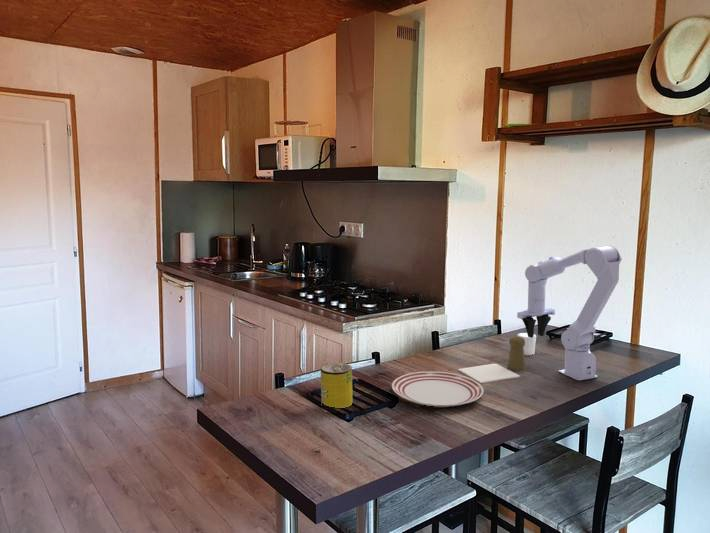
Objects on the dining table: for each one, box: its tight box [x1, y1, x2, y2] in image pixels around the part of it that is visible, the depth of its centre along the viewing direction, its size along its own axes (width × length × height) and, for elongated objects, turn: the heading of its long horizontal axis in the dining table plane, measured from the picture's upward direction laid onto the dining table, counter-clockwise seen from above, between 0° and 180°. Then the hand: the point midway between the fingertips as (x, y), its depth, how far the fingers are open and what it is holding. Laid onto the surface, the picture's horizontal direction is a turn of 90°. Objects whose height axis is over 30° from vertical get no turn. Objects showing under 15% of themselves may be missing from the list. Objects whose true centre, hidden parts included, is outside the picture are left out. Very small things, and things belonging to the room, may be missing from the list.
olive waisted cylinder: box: [507, 336, 527, 372], centre depth 189 cm, size 6×6×11 cm
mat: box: [457, 363, 521, 385], centre depth 184 cm, size 14×15×1 cm
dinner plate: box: [391, 371, 484, 408], centre depth 166 cm, size 27×27×3 cm
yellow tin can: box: [320, 362, 354, 408], centre depth 158 cm, size 9×9×12 cm
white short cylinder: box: [517, 332, 537, 356], centre depth 206 cm, size 7×7×7 cm
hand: (535, 336), depth 194 cm, fingers open, 4 cm apart
